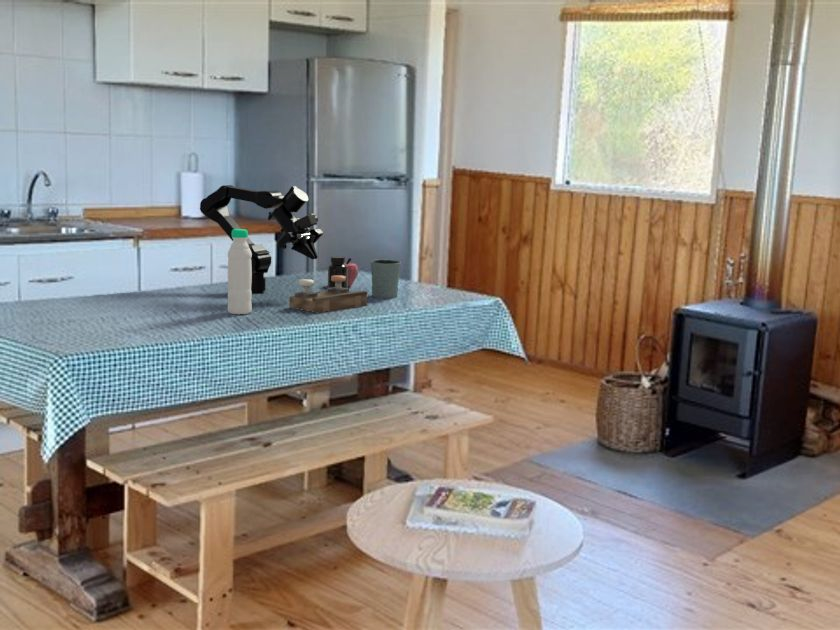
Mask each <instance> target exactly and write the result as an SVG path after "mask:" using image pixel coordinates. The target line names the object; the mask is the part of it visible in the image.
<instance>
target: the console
mask: <svg viewBox="0 0 840 630" xmlns="http://www.w3.org/2000/svg"><path fill="white" fill-rule="evenodd" d="M359 306H360V307H365V306H368V291H366V290H358V291H357V290H356V291H350V288H343V287H341V289H335V287H332V288H328V287H327V288H326V291H321V292H320V291H319V292H313V291H309V293H308V294H305V293H303V291H295V292H294V295H293V296H292V295H290V296H289V306H288V307H293V308H298V309H303V310H308V311H313V312H322V313H325V312H324V311H328V312H333V311H332V310H335V311H340V310H339V309H341V310H345V308H347V309H352V307H353V308H358V307H359ZM293 308H292V309H293ZM298 309H297V310H298ZM303 310H302V311H303ZM308 311H307V312H308ZM313 312H312V313H313Z"/></svg>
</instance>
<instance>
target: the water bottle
mask: <svg viewBox="0 0 840 630" xmlns="http://www.w3.org/2000/svg"><path fill="white" fill-rule="evenodd" d="M248 236H249V231H248V230H247V229H244V228H241V229H233V230H232V238H233V241H232V243H231V244H230V248H229V249H228V251H227V258H228V259H227V260H228V261H227V287H228V289H227V300H228V301H227V312H228V313H229V314H231V315H236V314H237V315H239V316H241V315H242V314H243V315H248V314H251V313H252V310H253V309H252V307H253V305H252V296H253V295H252V292H251V282H252V264H251V257H252V253H251V250H250V248H249V246H248V244H247V242H246V240H247V237H248ZM248 238H249V237H248ZM240 314H241V315H240ZM237 315H236V316H237Z"/></svg>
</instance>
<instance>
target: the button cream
mask: <svg viewBox="0 0 840 630" xmlns="http://www.w3.org/2000/svg"><path fill="white" fill-rule="evenodd" d="M298 285H299V286H301V287H302V292H303V293H305V294H308V293H309V292H311V291H310V287H312V286H315V280H314V279H311V278H310V279H309V278H308V279H307V278H306V279H301V278H300V279H299V280H298Z"/></svg>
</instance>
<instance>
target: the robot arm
mask: <svg viewBox="0 0 840 630" xmlns="http://www.w3.org/2000/svg"><path fill="white" fill-rule="evenodd" d="M232 199H234V200H238V201H239V200H240V201H245V202H250V203H253V204H255V205H256V206H258V207H260V208H262V209H264V210H266V209H268V210H269V209H273V210H272V211H269V212H268V216H267V220H268V221H276V222H277V224H278V225H279V226H280V228H281V229H279V230H280V232H281V233H282V235H281V237H279V239H278V240H277V247H278V248H279V249H280V250H286V249H287V244H292V247H290V249H291V250H292V251H295V252H296V253H300V254H302V255H303V256H305V257H307V258H308V259H311V260H317V259H318V253H317V250H316V247H315V244H316V242H317V241H318V240H319V239H320V238H321V237H322V236H323V235H324V232H323V230H321V229H322V228H312V229H310V228H311V227H312V226H317V225H318V222H319V217H318V216H317V215H316V214H315V213H310V214H307V215H305V216H303V217H301V218H299V217H296V216H295V214H294V213H298V212H299V211H300V210H301V209H302V208H303V206H305V204H306V203H308V201H309V196H308V194H307V192H304V191H303V190H302V189H300V188H298V187H297V186H296V185H293V186H291V187H290V188H289V190H288V191H287V193H285V194H282V193H281V191H279V190H255V189H250V188H244V187H240V186H234V185H232V184H227V185H221V186H220V187H219V188H217V189H216V190H215V191H213V192H211V193H210V194H209V195H208V196H207V197H205V198H203V199H202V200H201V201H200V205H199V210H200V213H202V214H203V216H205V217H206V218H207V219H209V220H211V221H213V222H215V223H216V224H217V225H219V226H220V228H221V229H222V231H224V233H225V234H226V235H227V236H228V238H229V239H230V240H231V241H232V242H233V238H232V230H233V229H242V228H241V227H240V226H239V225H238V224H237V223H236V221H235V220H234V219H233V217H232V216H231V215H230V214H229V208H228V205H229V204H230V203H231V201H232ZM246 242H247V244H248V246H249V248H250V250H251V253H252V257H251V264H252V282H251V292H252V293H253V294H256V293H257V294H264V292H265V291H266V289H267V288H266V287H267V283H266V281H267V279H266V276H265V274H268V272H269V269H270V267H271V265H272V256H271V254H270V253H271V252H270V250H267V248H266V246H265V245H263V244H255V243H254V242H253V241H252V239H250V237H247V240H246Z"/></svg>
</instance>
